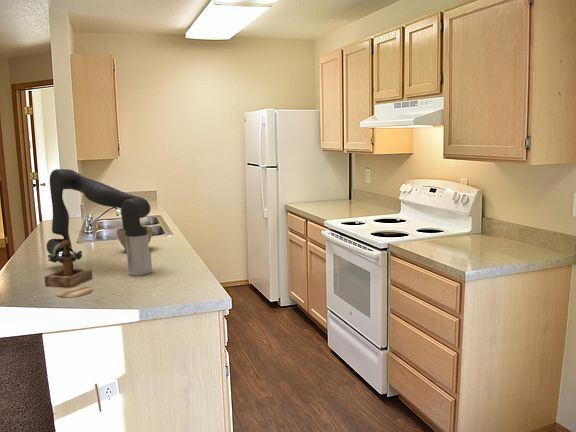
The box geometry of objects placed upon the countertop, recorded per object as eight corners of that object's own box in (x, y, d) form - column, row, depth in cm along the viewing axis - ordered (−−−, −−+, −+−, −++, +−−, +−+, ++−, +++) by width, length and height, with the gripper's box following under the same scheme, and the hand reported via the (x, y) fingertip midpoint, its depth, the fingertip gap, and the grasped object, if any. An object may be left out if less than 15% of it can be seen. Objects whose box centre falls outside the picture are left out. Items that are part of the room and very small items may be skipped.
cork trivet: (99, 288, 204) (99, 287, 204) (78, 298, 192) (78, 297, 192) (72, 286, 208) (71, 285, 208) (49, 296, 196) (49, 295, 195)
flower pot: (158, 247, 281) (157, 225, 279) (146, 255, 263) (144, 231, 261) (126, 247, 282) (125, 225, 281) (112, 255, 265) (110, 231, 263)
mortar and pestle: (59, 285, 211) (55, 242, 208) (62, 281, 217) (58, 239, 215) (77, 283, 213) (73, 240, 210) (78, 279, 219) (75, 237, 216)
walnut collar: (92, 278, 220) (91, 269, 219) (71, 287, 207) (70, 277, 206) (67, 277, 223) (66, 268, 223) (45, 286, 210) (44, 276, 210)
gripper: (44, 246, 222) (48, 253, 207) (79, 242, 229) (85, 248, 214) (46, 263, 223) (50, 271, 208) (81, 258, 230) (87, 266, 215)
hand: (68, 260), depth 211 cm, fingers closed on mortar and pestle, 4 cm apart
